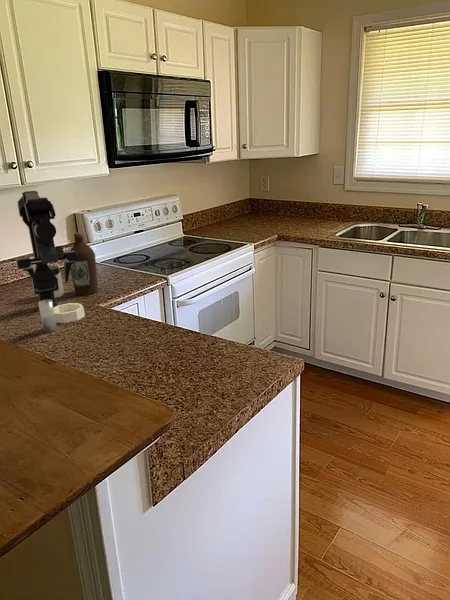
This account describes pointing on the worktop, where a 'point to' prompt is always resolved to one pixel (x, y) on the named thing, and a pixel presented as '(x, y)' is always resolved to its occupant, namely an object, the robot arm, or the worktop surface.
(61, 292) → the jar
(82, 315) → the bowl
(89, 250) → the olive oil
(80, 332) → the worktop surface
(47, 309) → the canister
